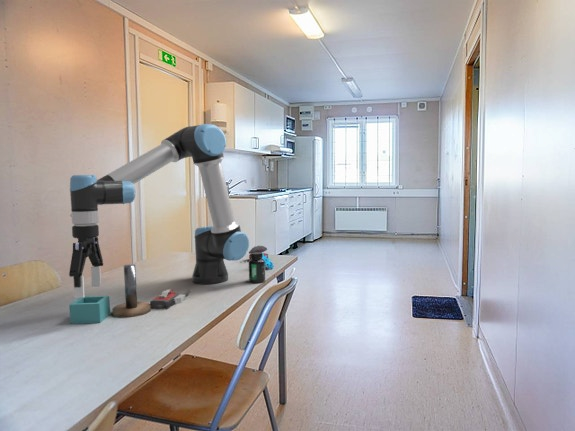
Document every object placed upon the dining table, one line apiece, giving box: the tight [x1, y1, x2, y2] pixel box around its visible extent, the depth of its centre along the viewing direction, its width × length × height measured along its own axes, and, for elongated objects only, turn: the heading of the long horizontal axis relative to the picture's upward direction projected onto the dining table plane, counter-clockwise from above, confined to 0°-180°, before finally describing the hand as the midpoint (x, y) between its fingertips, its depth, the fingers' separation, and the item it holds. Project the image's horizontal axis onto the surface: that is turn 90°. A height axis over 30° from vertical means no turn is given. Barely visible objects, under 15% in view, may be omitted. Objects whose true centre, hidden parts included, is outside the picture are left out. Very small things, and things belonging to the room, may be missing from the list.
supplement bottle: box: [248, 252, 266, 284], centre depth 184 cm, size 7×7×12 cm
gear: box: [261, 252, 274, 270], centre depth 210 cm, size 11×6×10 cm
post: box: [123, 263, 138, 309], centre depth 146 cm, size 4×4×14 cm
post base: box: [111, 301, 152, 318], centre depth 147 cm, size 12×12×2 cm
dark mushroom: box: [248, 245, 269, 260], centre depth 229 cm, size 11×10×10 cm
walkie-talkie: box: [149, 289, 191, 310], centre depth 158 cm, size 9×4×20 cm
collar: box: [68, 295, 111, 325], centre depth 140 cm, size 9×9×6 cm
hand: (88, 291), depth 140 cm, fingers open, 13 cm apart
